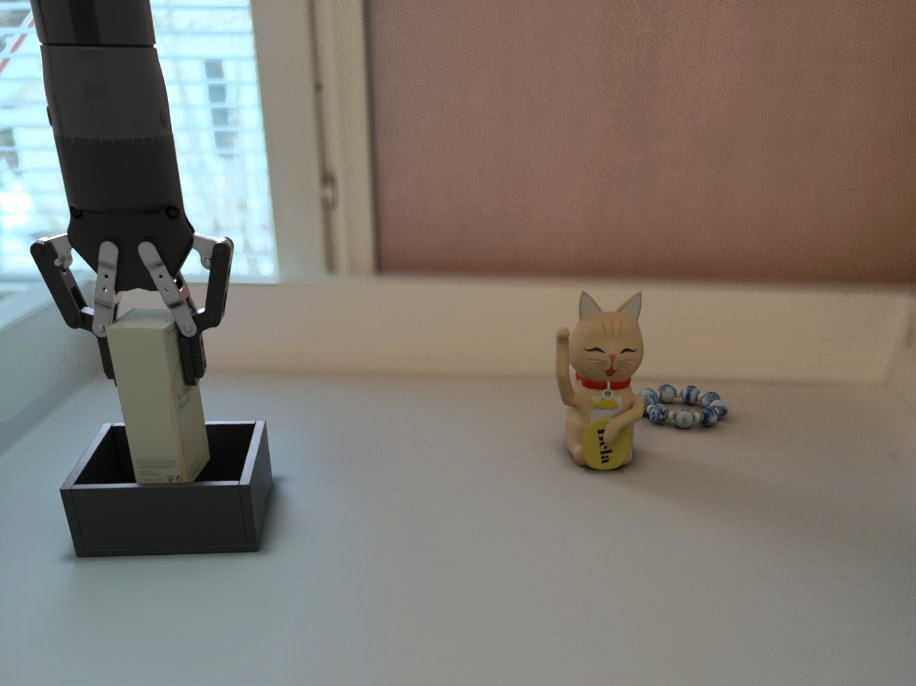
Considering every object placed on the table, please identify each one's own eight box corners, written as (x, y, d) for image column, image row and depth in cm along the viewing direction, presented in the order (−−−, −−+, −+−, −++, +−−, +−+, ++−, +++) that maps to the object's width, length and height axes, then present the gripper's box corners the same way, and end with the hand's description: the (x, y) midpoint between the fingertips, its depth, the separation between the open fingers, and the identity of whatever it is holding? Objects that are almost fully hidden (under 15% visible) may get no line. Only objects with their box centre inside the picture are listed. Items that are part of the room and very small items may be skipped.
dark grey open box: (76, 557, 69) (58, 489, 66) (116, 484, 80) (103, 423, 77) (258, 551, 70) (249, 484, 67) (272, 480, 82) (265, 420, 79)
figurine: (553, 475, 84) (565, 307, 76) (543, 436, 92) (553, 281, 84) (645, 475, 84) (666, 308, 76) (627, 437, 92) (645, 282, 84)
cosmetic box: (190, 489, 71) (165, 329, 64) (133, 487, 71) (102, 327, 64) (211, 457, 76) (190, 307, 69) (158, 456, 76) (132, 305, 69)
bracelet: (621, 419, 97) (623, 401, 95) (650, 393, 104) (652, 376, 103) (712, 436, 93) (715, 417, 92) (735, 408, 100) (738, 390, 99)
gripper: (231, 124, 64) (258, 367, 73) (17, 121, 62) (74, 369, 72) (216, 134, 57) (248, 398, 67) (-21, 131, 56) (46, 401, 65)
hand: (158, 382), depth 69 cm, fingers closed on cosmetic box, 4 cm apart
